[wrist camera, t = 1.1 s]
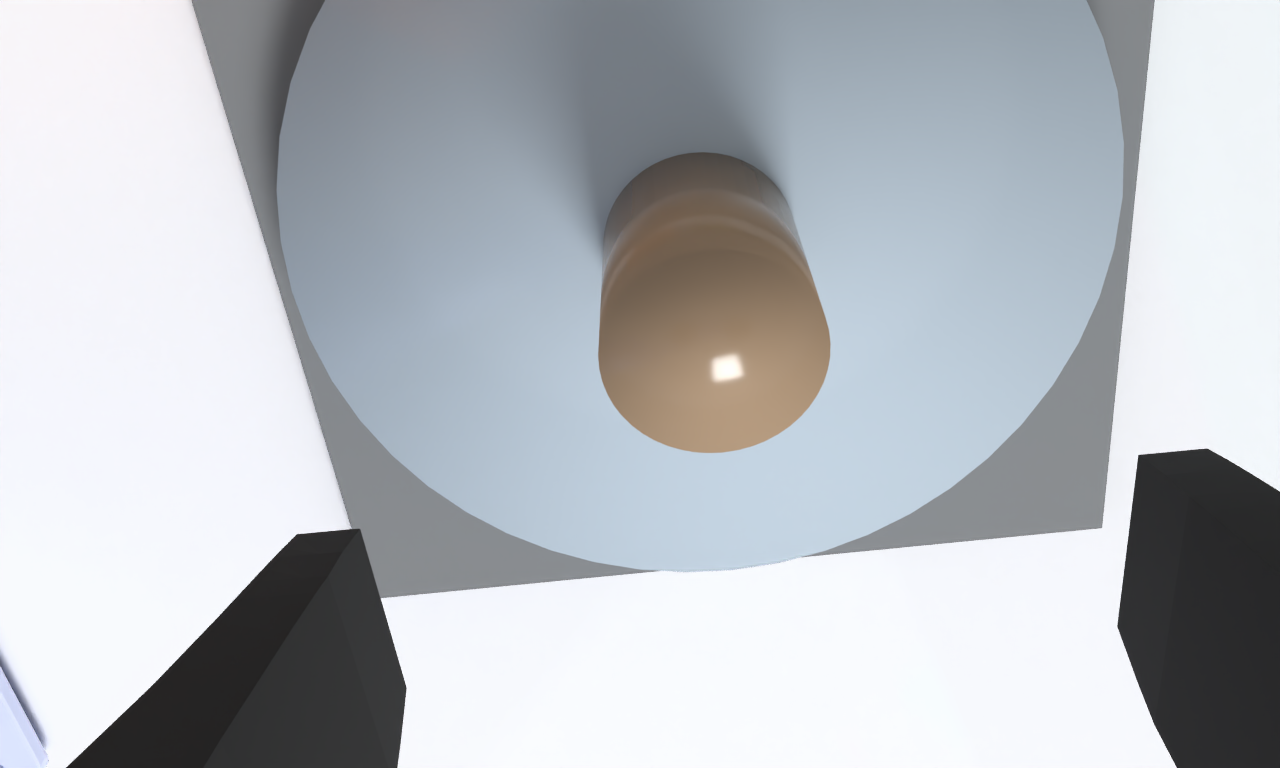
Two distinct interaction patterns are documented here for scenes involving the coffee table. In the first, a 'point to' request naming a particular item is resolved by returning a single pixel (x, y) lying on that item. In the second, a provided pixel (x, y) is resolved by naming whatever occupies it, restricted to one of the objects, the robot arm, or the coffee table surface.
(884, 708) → the coffee table surface
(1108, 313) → the mat
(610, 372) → the lid
